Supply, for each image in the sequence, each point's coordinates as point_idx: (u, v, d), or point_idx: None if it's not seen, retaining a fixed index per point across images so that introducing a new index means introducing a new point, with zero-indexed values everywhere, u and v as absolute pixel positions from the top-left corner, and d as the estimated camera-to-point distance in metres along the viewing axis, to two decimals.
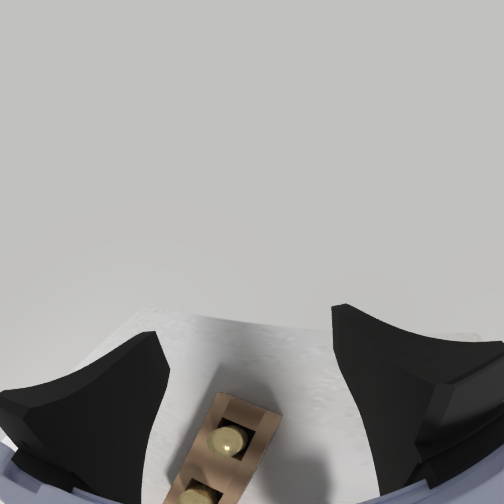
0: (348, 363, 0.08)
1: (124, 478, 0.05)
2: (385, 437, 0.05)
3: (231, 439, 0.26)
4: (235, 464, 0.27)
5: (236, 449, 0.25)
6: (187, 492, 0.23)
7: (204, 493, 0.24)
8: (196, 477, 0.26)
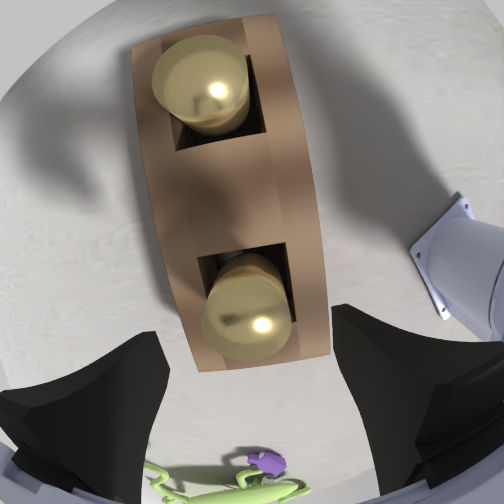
0: (348, 363, 0.08)
1: (124, 478, 0.05)
2: (385, 437, 0.05)
3: (212, 50, 0.09)
4: (260, 148, 0.14)
5: (241, 63, 0.09)
6: (213, 293, 0.12)
7: (249, 268, 0.13)
8: (205, 248, 0.15)
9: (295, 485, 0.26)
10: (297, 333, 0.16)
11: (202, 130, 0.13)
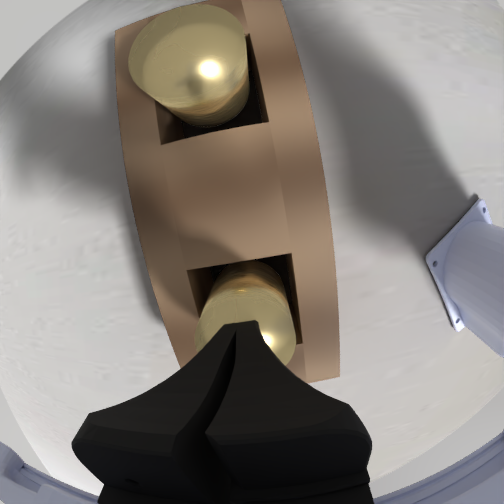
0: None
1: None
2: None
3: (202, 20, 0.06)
4: (262, 140, 0.11)
5: (238, 34, 0.07)
6: (208, 307, 0.10)
7: (249, 277, 0.12)
8: (196, 260, 0.13)
9: None
10: (303, 355, 0.14)
11: (192, 119, 0.10)
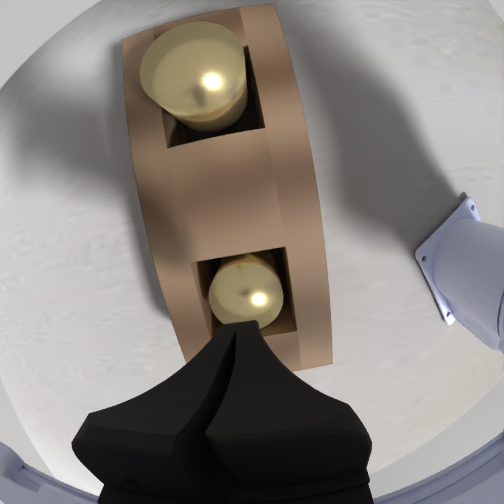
0: None
1: None
2: None
3: (206, 37, 0.08)
4: (259, 144, 0.12)
5: (238, 50, 0.08)
6: (219, 272, 0.15)
7: None
8: (199, 253, 0.14)
9: None
10: (298, 342, 0.15)
11: (195, 125, 0.12)
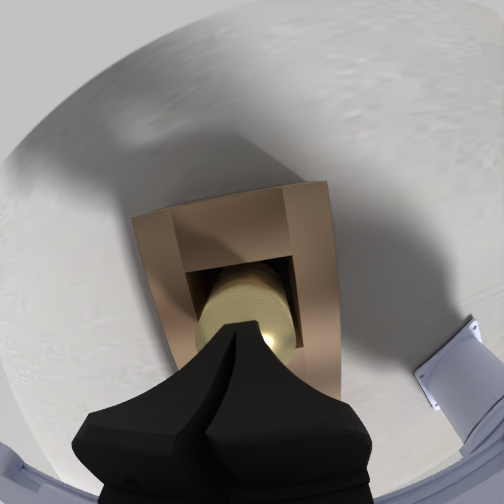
0: None
1: None
2: None
3: (259, 321, 0.10)
4: (296, 360, 0.14)
5: (291, 337, 0.10)
6: None
7: None
8: None
9: None
10: None
11: None
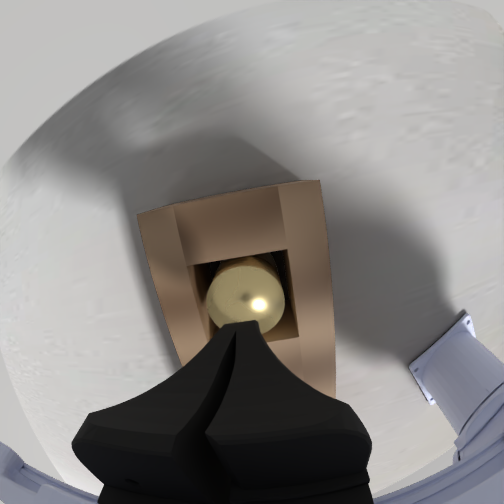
0: None
1: None
2: None
3: (256, 284, 0.13)
4: (292, 350, 0.14)
5: (280, 298, 0.14)
6: None
7: None
8: None
9: None
10: None
11: None
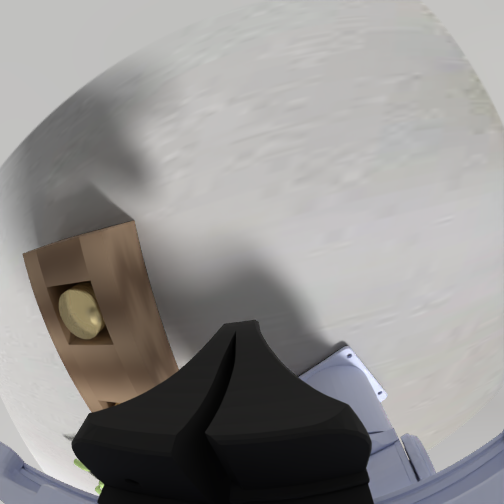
0: None
1: None
2: None
3: (80, 303, 0.16)
4: (112, 354, 0.17)
5: (94, 314, 0.16)
6: (114, 405, 0.19)
7: None
8: (100, 397, 0.18)
9: None
10: None
11: None
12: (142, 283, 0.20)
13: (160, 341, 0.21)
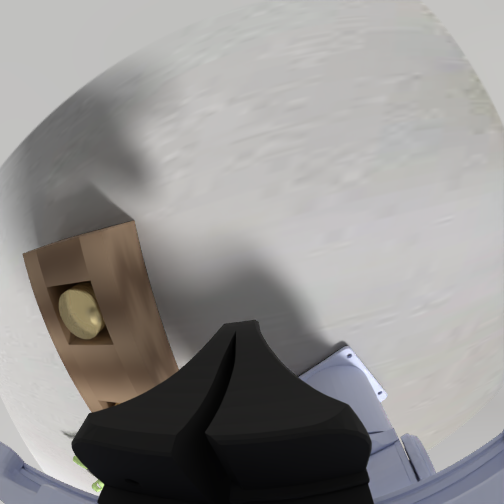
0: None
1: None
2: None
3: (80, 303, 0.16)
4: (112, 354, 0.17)
5: (94, 314, 0.16)
6: (114, 405, 0.19)
7: None
8: (100, 397, 0.18)
9: None
10: None
11: None
12: (142, 283, 0.20)
13: (160, 341, 0.21)
